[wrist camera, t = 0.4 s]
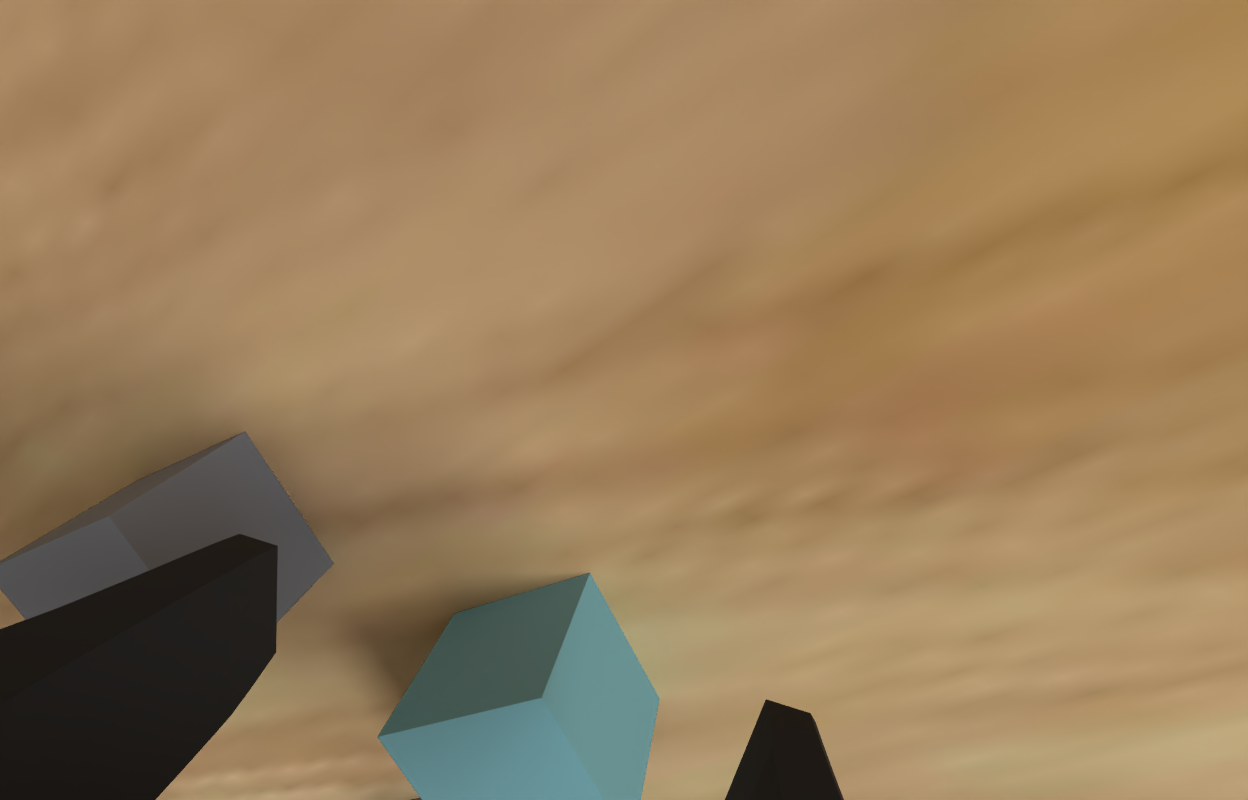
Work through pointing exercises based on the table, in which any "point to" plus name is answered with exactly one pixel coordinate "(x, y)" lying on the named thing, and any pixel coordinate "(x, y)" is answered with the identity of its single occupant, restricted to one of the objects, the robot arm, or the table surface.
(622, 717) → the teal block
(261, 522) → the charcoal block
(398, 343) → the table surface
